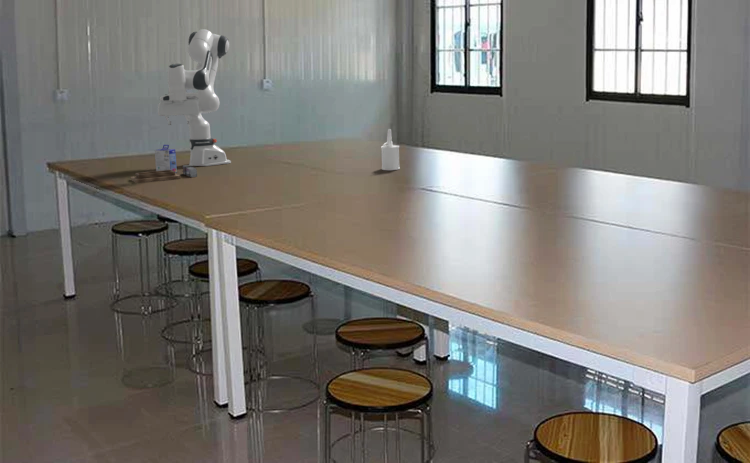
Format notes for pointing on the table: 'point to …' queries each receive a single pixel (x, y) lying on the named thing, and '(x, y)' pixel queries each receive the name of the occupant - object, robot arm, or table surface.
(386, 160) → the white glue bottle
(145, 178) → the cradle
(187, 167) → the two-tone gray stick
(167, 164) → the ink cartridge box
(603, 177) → the table surface
